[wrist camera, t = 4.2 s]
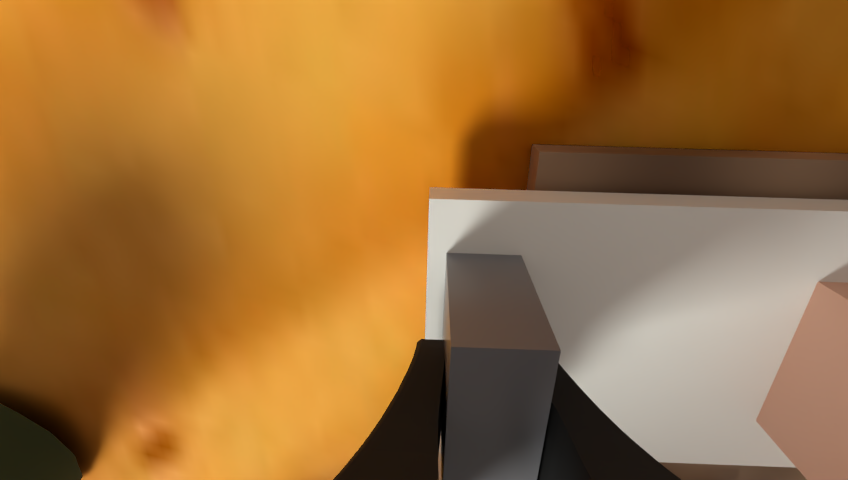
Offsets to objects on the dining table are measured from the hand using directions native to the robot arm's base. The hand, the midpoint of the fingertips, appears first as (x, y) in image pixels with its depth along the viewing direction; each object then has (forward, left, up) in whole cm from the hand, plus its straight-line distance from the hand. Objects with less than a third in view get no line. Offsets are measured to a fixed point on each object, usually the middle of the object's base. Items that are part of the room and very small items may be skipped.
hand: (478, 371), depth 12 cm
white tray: (+9, 0, -2) cm, 9 cm away
